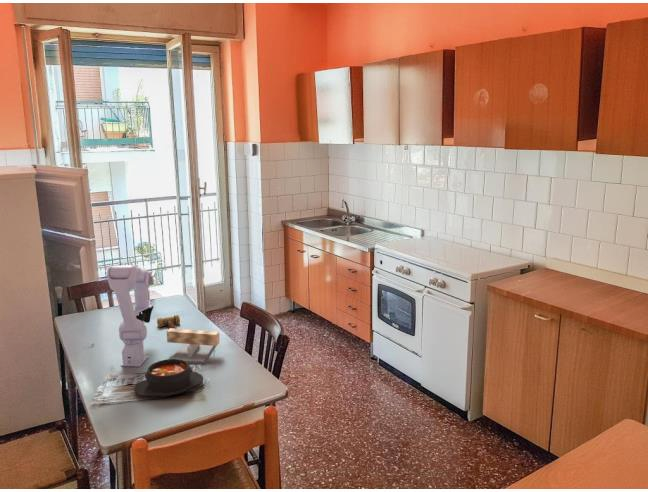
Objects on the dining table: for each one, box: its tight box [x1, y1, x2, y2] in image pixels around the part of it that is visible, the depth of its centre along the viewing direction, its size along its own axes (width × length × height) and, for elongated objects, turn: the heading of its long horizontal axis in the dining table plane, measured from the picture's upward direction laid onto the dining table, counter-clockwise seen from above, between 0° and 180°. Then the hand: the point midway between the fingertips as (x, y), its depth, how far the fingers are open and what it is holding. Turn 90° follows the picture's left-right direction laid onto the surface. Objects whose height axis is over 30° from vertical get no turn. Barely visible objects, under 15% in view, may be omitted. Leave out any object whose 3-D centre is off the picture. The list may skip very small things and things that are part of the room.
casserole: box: [133, 358, 204, 397], centre depth 201 cm, size 25×19×8 cm
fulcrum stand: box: [170, 343, 216, 365], centre depth 231 cm, size 20×14×5 cm
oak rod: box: [166, 328, 220, 347], centre depth 230 cm, size 22×4×5 cm, turn 82°
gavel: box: [156, 314, 181, 329], centre depth 257 cm, size 21×5×10 cm
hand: (143, 325), depth 238 cm, fingers open, 7 cm apart
